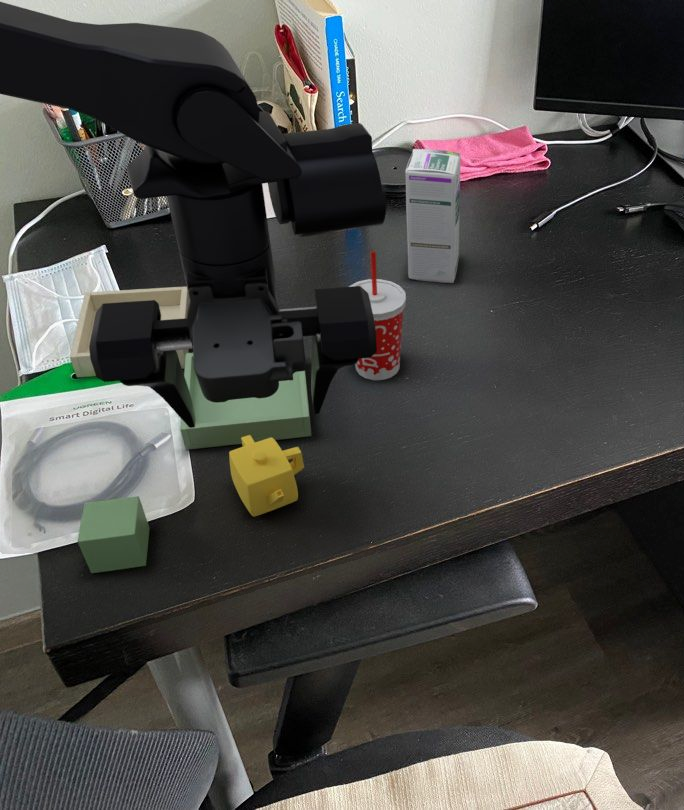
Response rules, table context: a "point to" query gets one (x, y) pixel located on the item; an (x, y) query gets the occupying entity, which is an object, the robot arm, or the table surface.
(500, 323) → the table surface
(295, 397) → the green tray
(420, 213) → the syrup box
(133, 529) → the green cube
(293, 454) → the yellow linking cube
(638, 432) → the table surface
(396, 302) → the beverage cup
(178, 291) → the cream tray
